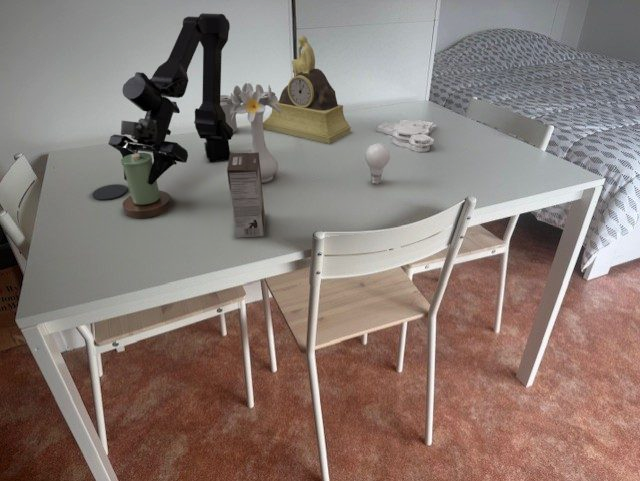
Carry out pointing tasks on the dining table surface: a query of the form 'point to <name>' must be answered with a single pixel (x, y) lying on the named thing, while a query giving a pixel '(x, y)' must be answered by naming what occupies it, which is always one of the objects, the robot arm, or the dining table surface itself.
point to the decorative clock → (308, 103)
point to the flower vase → (256, 122)
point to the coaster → (109, 192)
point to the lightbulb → (377, 160)
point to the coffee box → (246, 194)
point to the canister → (140, 178)
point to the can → (228, 111)
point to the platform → (147, 207)
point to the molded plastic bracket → (410, 134)
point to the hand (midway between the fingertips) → (137, 182)
